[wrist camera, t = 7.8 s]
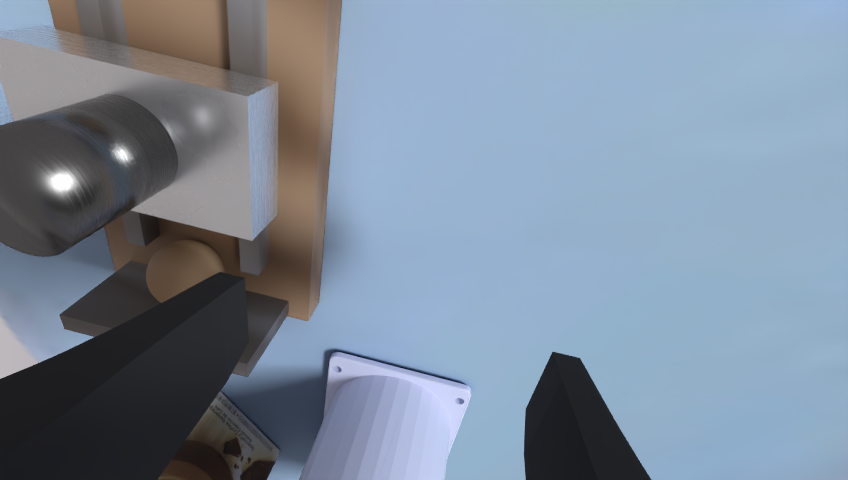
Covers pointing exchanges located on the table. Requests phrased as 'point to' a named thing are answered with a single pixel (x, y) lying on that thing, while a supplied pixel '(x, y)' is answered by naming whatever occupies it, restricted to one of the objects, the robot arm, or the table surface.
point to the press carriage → (129, 141)
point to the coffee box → (223, 448)
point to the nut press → (297, 160)
